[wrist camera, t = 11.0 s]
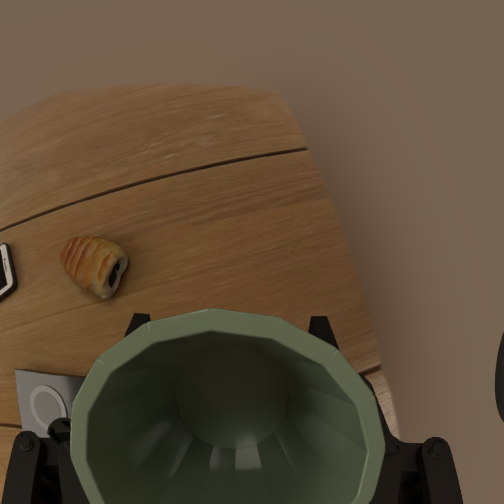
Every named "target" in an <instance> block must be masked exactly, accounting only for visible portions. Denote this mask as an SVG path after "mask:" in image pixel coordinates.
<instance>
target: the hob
mask: <svg viewBox="0 0 504 504" xmlns="http://www.w3.org/2000/svg"><path fill="white" fill-rule="evenodd" d="M15 375H16V387H17V396H18V404H19V411H20V417H21V423H22V429H23V431H32V432H34V433H36V435H37V436H38V437H50V436H49V435H48V434H47V430H48V427H49V425H50V424H51V422H53V421H54V420H55V419H58V418H62V417H64V418H69V419H71V409H72V405H73V401H74V400H75V398H76V396H77V394H78V392H79V390H80V388H81V386H82V384H83V382H84V381H85V379H86V377H87V376H77V375H66V374H57V373H48V372H41V371H33V370H27V369H15Z"/></svg>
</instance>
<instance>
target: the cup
mask: <svg viewBox="0 0 504 504" xmlns="http://www.w3.org/2000/svg"><path fill="white" fill-rule="evenodd" d="M385 445H386V444H385V440H384V435H383V430H382V426H381V421H380V417H379V412H378V408H377V404H376V400H375V396H374V395H373V392H372V391H371V390H370V388H369V387H368V386H367V385H366V383H365V382H364V381H363V380H362V378H361V377H360V376H359V375H358V373H357V372H356V371H355V370H354V368H353V367H352V366H351V365H350V363H349V362H348V361H347V360H346V358H345V357H344V356H343V355H342V353H341V352H340V351H339V350H338V349H336V347H335V346H333V345H331V344H329V343H327V342H325V341H323V340H321V339H319V338H318V337H316V336H314V335H312V334H310V333H308V332H306V331H305V330H303V329H301V328H299V327H297V326H295V325H294V324H292V323H290V322H288V321H286V320H285V319H283V318H279V317H277V316H270V315H262V314H255V313H247V312H240V311H233V310H226V309H219V308H211V309H210V308H206V309H202V310H197V311H193V312H189V313H184V314H180V315H176V316H171V317H167V318H162V319H158V320H153V321H149V322H147V323H144V324H143V325H141V326H140V327H139V328H137V329H136V330H134V331H133V332H132V333H130V334H129V335H127V336H126V337H125V338H123V339H122V340H120V341H119V342H118V343H116V344H115V345H113V346H112V347H111V348H109V349H108V350H107V351H105V352H104V353H102V354H101V355H100V356H99V357H98V358H97V359H96V361H95V362H94V364H93V366H92V368H91V370H90V371H89V373H88V375H87V377H86V379H85V381H84V382H83V384H82V386H81V388H80V390H79V392H78V394H77V396H76V398H75V400H74V401H73V405H72V409H71V432H70V455H71V460H72V463H73V465H74V468H75V470H76V473H77V475H78V478H79V480H80V482H81V485H82V487H83V489H84V492H85V494H86V496H87V498H88V500H89V502H90V504H369V503H370V501H371V500H372V498H373V497H372V496H374V494H375V490H376V486H377V483H378V479H379V475H380V471H381V467H382V463H383V458H384V454H385Z"/></svg>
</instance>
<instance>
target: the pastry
mask: <svg viewBox="0 0 504 504" xmlns="http://www.w3.org/2000/svg"><path fill="white" fill-rule="evenodd" d="M60 258H61V264H62V266H63V267H64V269H65V271H66V273H68V275H69V276H70V277H71V278H72V279H74V280H75V282H76V283H77V285H78V286H79V287H81V288H85V289H86V290H87V291H89V292H91V293H93V294H96V295H98V296H100V297H101V298H102V299H108V298H110V297H111V296H112V295H113V294H114V292H115V291H116V289H117V287H118V285H119V281H120V278H121V274H122V273H123V272H124V270H125V269H126V266H127V264H128V257H127V254H126V252H125V251H124V250H123V249H121V248H120V246H119V245H118V244H117V243H115V242H111V241H109V240H105V239H103V238H101V237H83V238H78V237H76V238H72V239H70V240H69V241H68V242H67V244H66V245H65V247H64V249H63V250H62V251H61V252H60Z"/></svg>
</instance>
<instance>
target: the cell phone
mask: <svg viewBox="0 0 504 504" xmlns="http://www.w3.org/2000/svg"><path fill="white" fill-rule="evenodd" d="M16 283H17V282H16V276H15V272H14V267H13V262H12V258H11V252H10V248H9V245H8V244H7V243H3V244H1V245H0V299H2V298H3V297H4V296H5V295H7V294H8V293H9V292H10V291H12V290H13V289H14V288H15V287H16Z"/></svg>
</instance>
